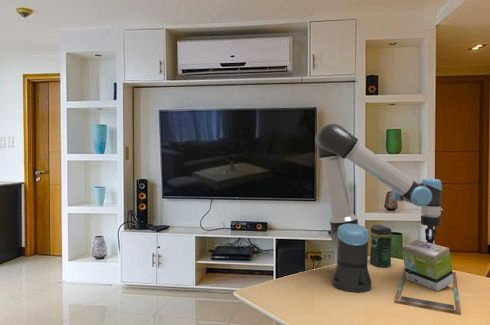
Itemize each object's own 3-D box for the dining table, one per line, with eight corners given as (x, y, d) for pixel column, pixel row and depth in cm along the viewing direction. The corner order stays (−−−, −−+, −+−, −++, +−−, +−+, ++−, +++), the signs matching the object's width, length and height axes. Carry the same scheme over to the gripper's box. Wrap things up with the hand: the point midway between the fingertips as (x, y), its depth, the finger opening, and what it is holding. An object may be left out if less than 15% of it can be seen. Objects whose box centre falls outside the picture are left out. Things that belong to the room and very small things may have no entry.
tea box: (405, 280, 159) (400, 246, 157) (421, 271, 163) (416, 238, 161) (438, 292, 146) (433, 255, 144) (454, 282, 150) (450, 246, 148)
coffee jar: (393, 267, 177) (394, 227, 176) (378, 268, 175) (379, 227, 174) (381, 261, 186) (382, 223, 186) (367, 262, 184) (368, 223, 184)
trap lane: (393, 302, 134) (394, 299, 134) (404, 267, 177) (405, 264, 177) (460, 314, 125) (461, 311, 125) (455, 274, 167) (455, 271, 167)
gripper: (441, 218, 153) (439, 277, 154) (440, 214, 165) (438, 268, 166) (420, 217, 157) (418, 274, 158) (421, 212, 168) (419, 265, 169)
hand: (429, 271), depth 162 cm, fingers closed
